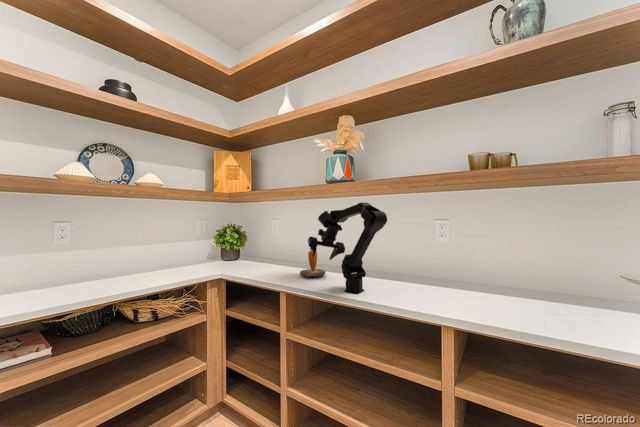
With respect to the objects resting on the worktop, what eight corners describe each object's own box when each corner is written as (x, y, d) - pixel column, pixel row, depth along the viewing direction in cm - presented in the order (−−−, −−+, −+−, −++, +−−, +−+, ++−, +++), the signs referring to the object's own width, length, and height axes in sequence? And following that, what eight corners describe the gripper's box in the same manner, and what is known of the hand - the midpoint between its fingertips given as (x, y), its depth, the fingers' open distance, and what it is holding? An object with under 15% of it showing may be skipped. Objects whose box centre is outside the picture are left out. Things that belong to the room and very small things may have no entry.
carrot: (319, 270, 147) (318, 243, 147) (314, 272, 143) (314, 244, 143) (311, 270, 150) (311, 243, 150) (306, 271, 146) (306, 244, 146)
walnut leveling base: (330, 275, 148) (330, 270, 148) (315, 280, 137) (315, 275, 137) (310, 272, 156) (310, 267, 156) (294, 276, 145) (294, 271, 145)
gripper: (345, 228, 140) (335, 251, 147) (311, 221, 136) (303, 245, 142) (350, 240, 131) (339, 264, 137) (313, 233, 126) (304, 258, 133)
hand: (321, 257), depth 138 cm, fingers open, 9 cm apart
